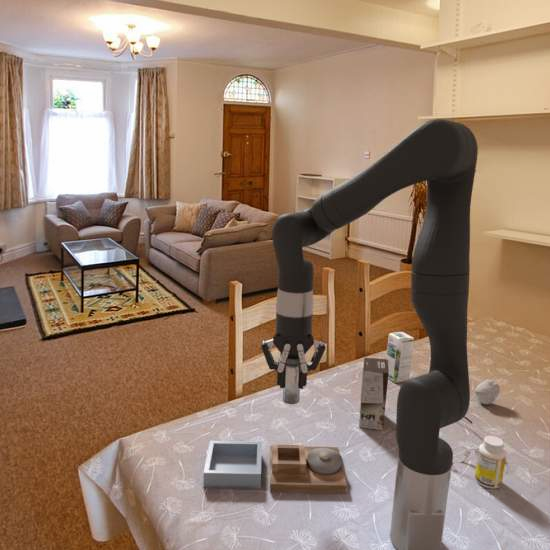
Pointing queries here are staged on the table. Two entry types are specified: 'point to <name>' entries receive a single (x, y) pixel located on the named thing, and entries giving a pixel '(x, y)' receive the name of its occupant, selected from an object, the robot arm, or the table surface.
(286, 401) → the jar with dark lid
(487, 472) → the supplement bottle
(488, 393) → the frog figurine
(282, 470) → the block
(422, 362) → the table surface
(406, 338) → the syrup box
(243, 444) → the tray
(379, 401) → the coffee box
